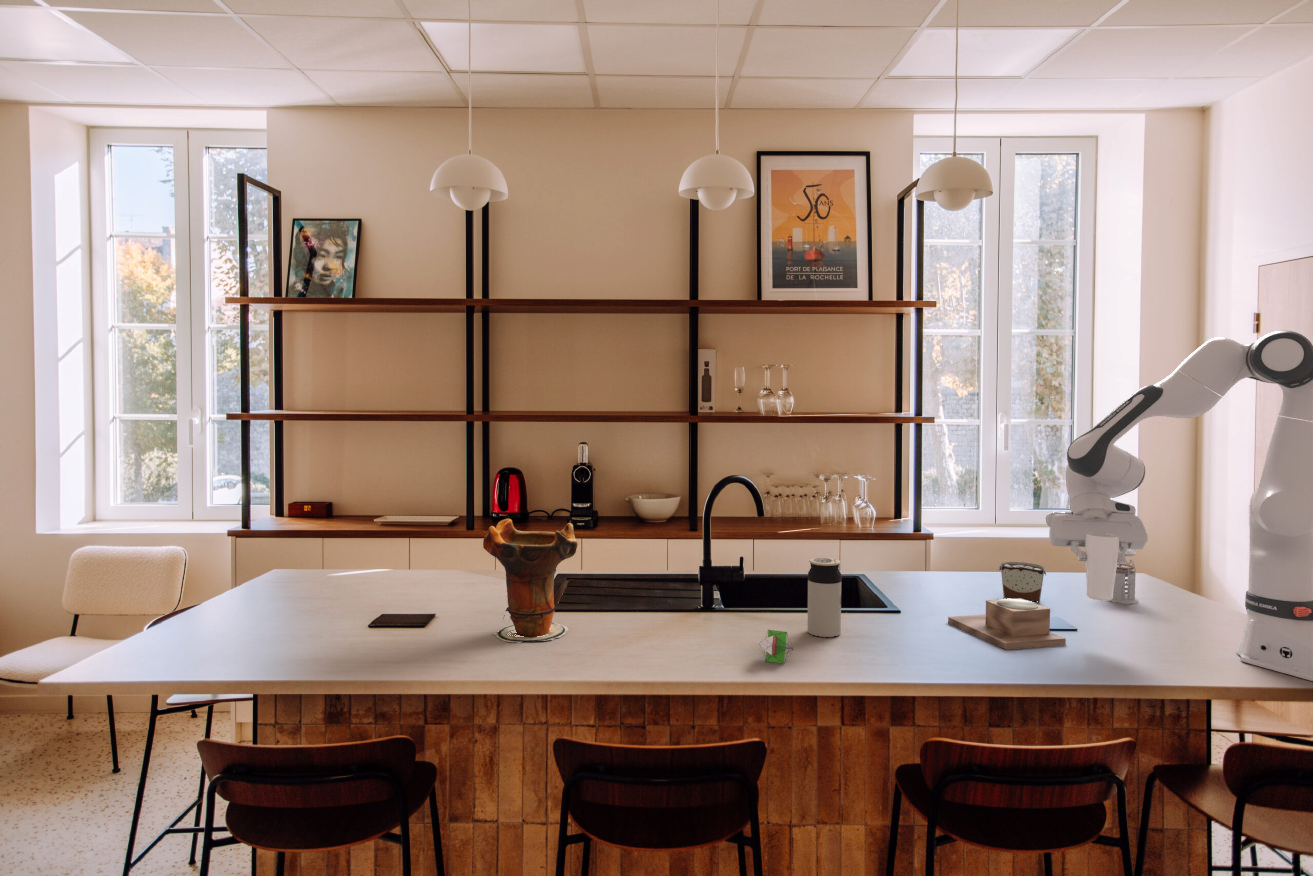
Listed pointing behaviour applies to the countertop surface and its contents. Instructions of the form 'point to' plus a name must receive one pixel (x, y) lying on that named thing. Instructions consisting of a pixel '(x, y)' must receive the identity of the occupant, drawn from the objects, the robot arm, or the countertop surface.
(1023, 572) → the food container
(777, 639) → the geometric puzzle
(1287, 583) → the robot arm
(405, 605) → the countertop surface
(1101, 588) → the drinking glass
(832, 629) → the travel mug
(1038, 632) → the walnut display stand
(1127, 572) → the french press
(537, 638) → the decorative vase
